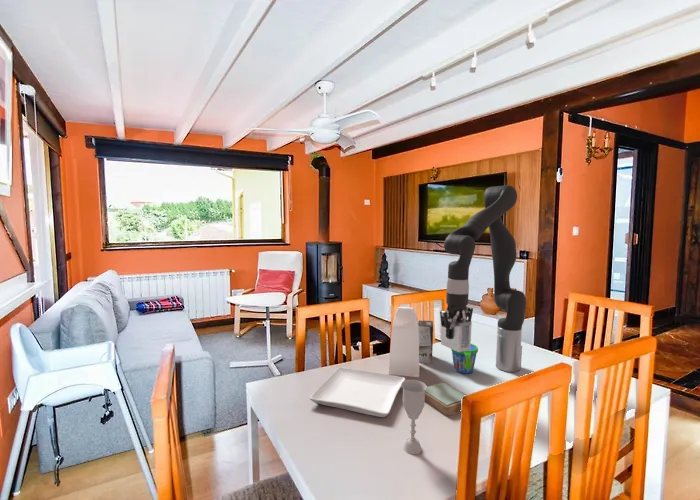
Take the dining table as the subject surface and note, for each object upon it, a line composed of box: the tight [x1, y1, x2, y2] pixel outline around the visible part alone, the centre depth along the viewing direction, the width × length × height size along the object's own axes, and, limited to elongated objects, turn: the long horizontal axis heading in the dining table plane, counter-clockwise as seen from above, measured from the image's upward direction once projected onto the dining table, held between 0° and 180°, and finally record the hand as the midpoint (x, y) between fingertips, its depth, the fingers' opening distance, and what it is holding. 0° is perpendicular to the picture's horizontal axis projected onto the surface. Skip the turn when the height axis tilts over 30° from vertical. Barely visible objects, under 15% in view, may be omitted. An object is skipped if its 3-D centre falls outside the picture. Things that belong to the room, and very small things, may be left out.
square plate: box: [309, 366, 406, 418], centre depth 134 cm, size 27×27×4 cm
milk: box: [388, 306, 420, 378], centre depth 154 cm, size 12×12×26 cm
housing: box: [440, 318, 473, 352], centre depth 136 cm, size 6×9×10 cm, turn 29°
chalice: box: [401, 379, 428, 455], centre depth 103 cm, size 7×7×18 cm
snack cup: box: [450, 343, 479, 374], centre depth 155 cm, size 16×10×10 cm
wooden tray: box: [425, 381, 468, 418], centre depth 129 cm, size 12×14×3 cm
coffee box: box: [418, 320, 434, 364], centre depth 166 cm, size 9×6×16 cm
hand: (455, 337), depth 136 cm, fingers closed on housing, 5 cm apart
